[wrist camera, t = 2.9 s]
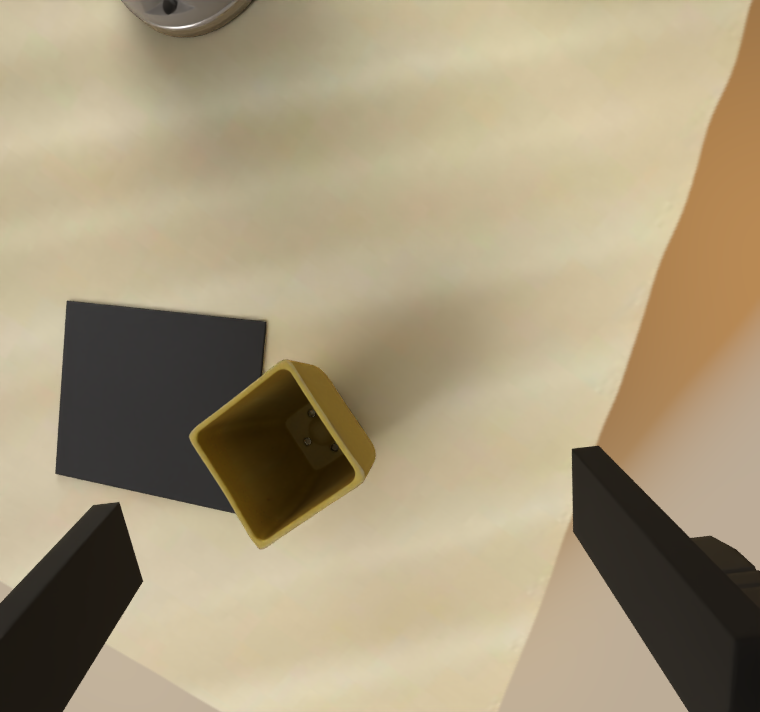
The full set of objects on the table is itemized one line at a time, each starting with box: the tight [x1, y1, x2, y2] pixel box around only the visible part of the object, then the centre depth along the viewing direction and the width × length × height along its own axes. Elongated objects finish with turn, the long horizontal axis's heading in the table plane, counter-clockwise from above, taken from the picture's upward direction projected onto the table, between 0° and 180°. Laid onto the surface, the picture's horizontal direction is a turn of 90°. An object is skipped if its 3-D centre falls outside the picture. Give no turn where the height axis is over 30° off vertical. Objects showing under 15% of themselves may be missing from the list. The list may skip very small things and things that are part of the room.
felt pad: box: [55, 301, 266, 513], centre depth 43 cm, size 20×16×1 cm
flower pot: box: [189, 360, 376, 549], centre depth 35 cm, size 9×9×9 cm
